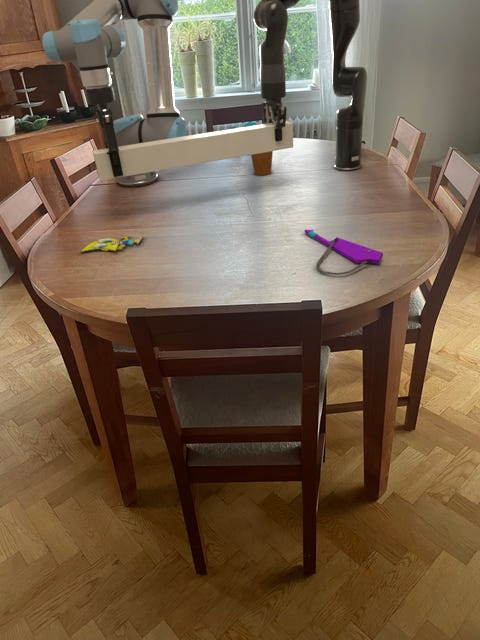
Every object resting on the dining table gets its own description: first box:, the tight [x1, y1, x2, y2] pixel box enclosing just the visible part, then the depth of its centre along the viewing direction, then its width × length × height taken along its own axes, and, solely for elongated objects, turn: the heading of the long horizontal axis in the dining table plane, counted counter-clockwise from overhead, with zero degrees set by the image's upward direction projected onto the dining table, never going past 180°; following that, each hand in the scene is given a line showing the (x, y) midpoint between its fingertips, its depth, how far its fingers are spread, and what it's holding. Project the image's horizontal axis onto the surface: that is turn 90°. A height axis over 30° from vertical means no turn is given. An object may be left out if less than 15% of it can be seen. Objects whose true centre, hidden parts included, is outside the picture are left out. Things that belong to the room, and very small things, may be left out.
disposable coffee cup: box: [250, 151, 274, 176], centre depth 177 cm, size 10×10×12 cm
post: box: [92, 120, 294, 181], centre depth 146 cm, size 61×5×8 cm, turn 110°
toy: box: [80, 235, 144, 254], centre depth 133 cm, size 10×1×15 cm
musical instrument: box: [304, 229, 384, 276], centre depth 117 cm, size 24×2×20 cm
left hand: (117, 173), depth 141 cm, fingers closed on post, 5 cm apart
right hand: (275, 139), depth 153 cm, fingers closed on post, 5 cm apart
